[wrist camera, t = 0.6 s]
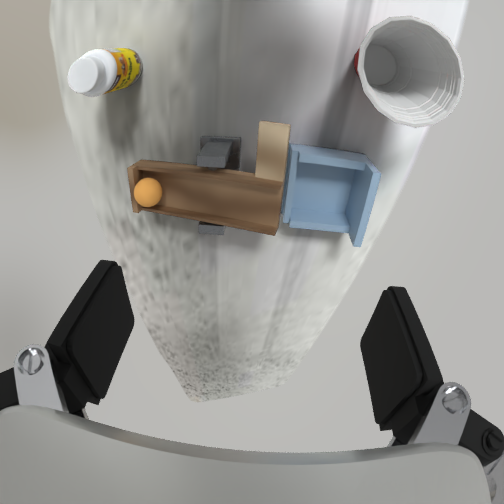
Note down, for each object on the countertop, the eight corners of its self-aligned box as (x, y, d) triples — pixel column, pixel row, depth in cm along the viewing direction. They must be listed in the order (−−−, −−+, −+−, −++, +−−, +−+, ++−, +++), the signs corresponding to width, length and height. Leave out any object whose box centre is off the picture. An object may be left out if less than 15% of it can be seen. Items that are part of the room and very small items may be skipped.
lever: (138, 113, 31) (122, 119, 29) (290, 124, 28) (285, 130, 25) (146, 205, 38) (133, 215, 36) (278, 229, 35) (272, 243, 33)
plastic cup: (313, 66, 30) (333, 69, 20) (367, 9, 24) (407, -7, 15) (378, 123, 33) (417, 152, 23) (427, 70, 28) (481, 82, 18)
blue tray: (289, 143, 36) (293, 161, 30) (364, 153, 36) (381, 173, 30) (281, 211, 42) (282, 239, 36) (349, 218, 42) (360, 247, 36)
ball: (144, 171, 34) (126, 182, 32) (167, 175, 34) (149, 187, 31) (146, 196, 37) (130, 209, 34) (169, 201, 36) (152, 214, 33)
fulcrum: (201, 135, 36) (187, 153, 30) (240, 137, 36) (234, 155, 30) (202, 206, 42) (191, 234, 36) (237, 209, 42) (231, 237, 36)
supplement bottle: (136, 91, 32) (96, 106, 24) (102, 82, 31) (56, 96, 23) (149, 52, 29) (110, 54, 21) (113, 44, 28) (68, 47, 20)
